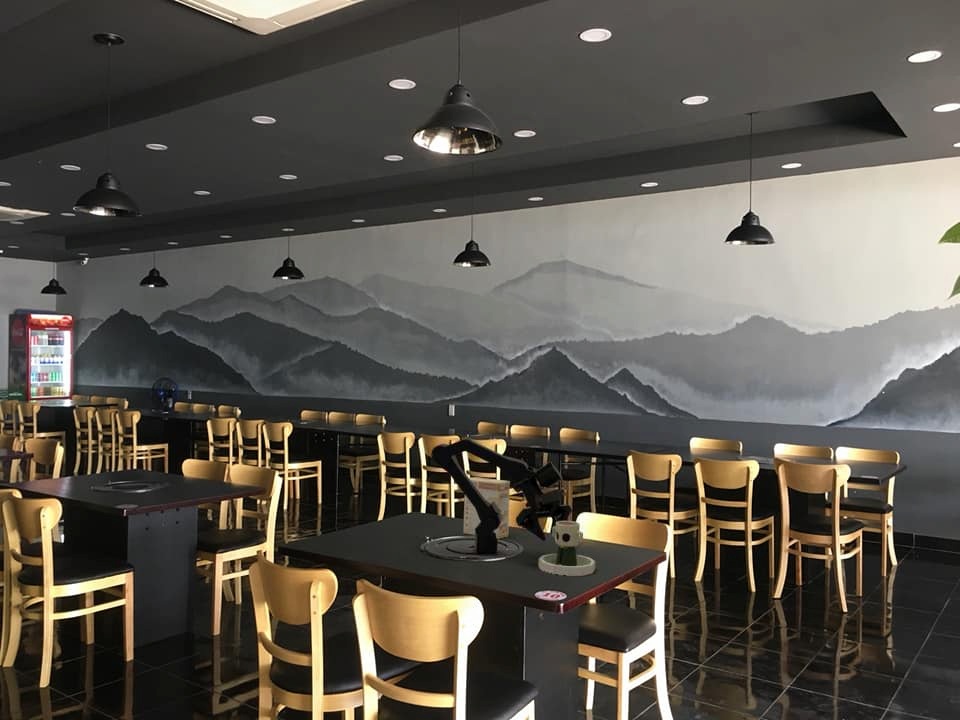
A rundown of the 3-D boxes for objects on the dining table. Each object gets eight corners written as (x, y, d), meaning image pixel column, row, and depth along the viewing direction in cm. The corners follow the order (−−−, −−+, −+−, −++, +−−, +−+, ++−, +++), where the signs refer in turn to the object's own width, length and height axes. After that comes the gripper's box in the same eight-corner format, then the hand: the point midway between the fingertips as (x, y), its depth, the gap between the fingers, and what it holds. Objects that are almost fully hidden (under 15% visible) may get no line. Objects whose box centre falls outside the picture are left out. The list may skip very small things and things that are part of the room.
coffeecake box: (508, 536, 264) (510, 480, 265) (497, 539, 259) (499, 482, 259) (474, 530, 273) (476, 476, 273) (462, 533, 267) (464, 478, 268)
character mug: (544, 565, 224) (545, 521, 224) (558, 561, 229) (559, 518, 230) (574, 572, 217) (575, 527, 217) (588, 568, 222) (589, 524, 222)
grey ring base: (548, 576, 213) (549, 567, 213) (533, 562, 229) (533, 554, 229) (602, 575, 217) (602, 566, 217) (583, 561, 232) (583, 553, 232)
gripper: (523, 481, 226) (545, 525, 217) (569, 478, 237) (593, 520, 228) (506, 504, 232) (527, 547, 223) (552, 499, 243) (574, 541, 234)
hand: (556, 538), depth 227 cm, fingers open, 9 cm apart
